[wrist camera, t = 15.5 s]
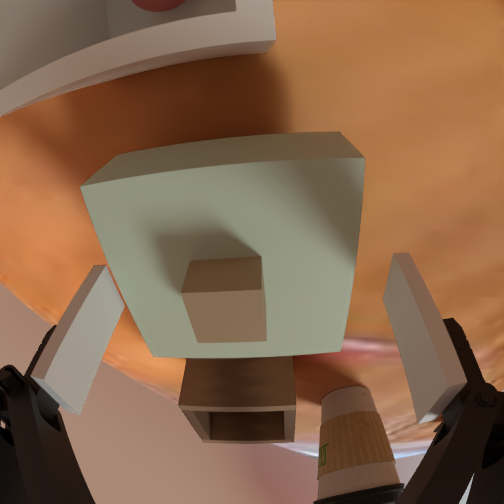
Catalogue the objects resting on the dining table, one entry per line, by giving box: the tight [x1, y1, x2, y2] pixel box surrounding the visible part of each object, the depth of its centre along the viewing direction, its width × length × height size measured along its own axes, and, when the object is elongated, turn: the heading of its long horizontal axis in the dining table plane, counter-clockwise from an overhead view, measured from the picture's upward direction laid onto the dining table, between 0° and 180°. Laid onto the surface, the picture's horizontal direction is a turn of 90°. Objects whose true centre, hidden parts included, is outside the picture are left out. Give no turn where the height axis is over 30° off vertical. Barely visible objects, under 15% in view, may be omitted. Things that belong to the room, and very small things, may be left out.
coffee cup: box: [313, 386, 404, 504], centre depth 27 cm, size 10×10×15 cm
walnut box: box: [178, 355, 296, 444], centre depth 24 cm, size 8×8×8 cm
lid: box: [80, 132, 365, 358], centre depth 14 cm, size 11×11×6 cm
